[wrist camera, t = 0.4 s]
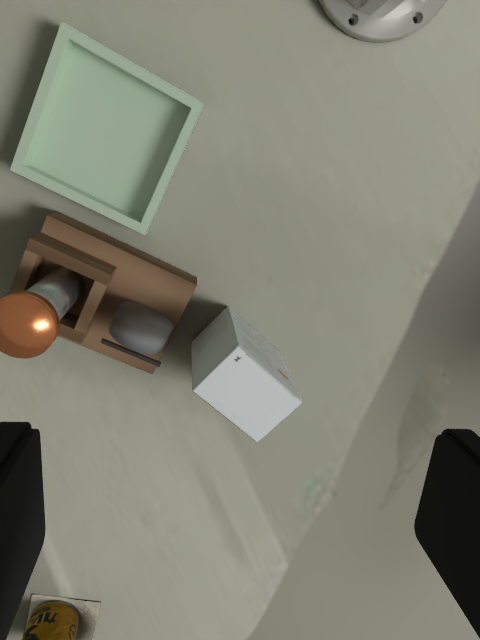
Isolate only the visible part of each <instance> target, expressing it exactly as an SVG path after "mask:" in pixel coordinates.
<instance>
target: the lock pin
mask: <svg viewBox="0 0 480 640" xmlns="http://www.w3.org/2000/svg"><path fill="white" fill-rule="evenodd" d="M84 288H85V283H84V279H83V277H82V276H81V274H79V273H77V272H75V271H73V270H70V269H68V268H66V267H58V268H56V269H54V270H53V271H52V272H50V273H49V274H48V275H46V276H45V277H44V278H42V279H41V280H40V281H38V282H37V283H36V284H35V285H33V286H32V287H31V288H29V289H28V290H27V291H15V292H11V293H8V294H6V295H5V296H3V297H2V298H0V351H1V352H3V353H5V354H7V355H9V356H12V357H16V358H32V357H36V356H38V355H40V354H42V353H43V352H45V351H46V350H47V349H48V348H49V347H50V345H51V344H52V343H53V342H54V340H55V339H56V337H57V335H58V333H59V329H60V320H61V318H62V317H63V316H64V315H65V314H66V313H67V311H68V310H69V309H70V308H71V307H72V306H73V304H74V303H75V302H76V301H77V300H78V299H79V297H80V296H81V295H82V294H83V292H84Z"/></svg>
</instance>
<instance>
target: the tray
mask: <svg viewBox="0 0 480 640" xmlns="http://www.w3.org/2000/svg"><path fill="white" fill-rule="evenodd" d="M204 105H205V104H204V103H203V102H201V101H199V100H197V99H196V98H194V97H192V96H190V95H189V94H187V93H185V92H183V91H182V90H180V89H178V88H177V87H175V86H173V85H171V84H170V83H168V82H166V81H164V80H163V79H161V78H159V77H157V76H156V75H154V74H152V73H150V72H149V71H147V70H145V69H144V68H142V67H140V66H138V65H137V64H135V63H133V62H131V61H130V60H128V59H126V58H124V57H123V56H121V55H119V54H117V53H116V52H114V51H112V50H111V49H109V48H107V47H105V46H104V45H102V44H100V43H98V42H97V41H95V40H93V39H91V38H90V37H88V36H86V35H84V34H83V33H81V32H79V31H77V30H76V29H74V28H72V27H71V26H69V25H67V24H65V23H64V22H62V21H61V24H60V27H59V30H58V33H57V36H56V39H55V41H54V44H53V47H52V50H51V53H50V56H49V59H48V62H47V64H46V67H45V70H44V73H43V76H42V79H41V82H40V85H39V87H38V90H37V93H36V96H35V99H34V102H33V105H32V108H31V110H30V113H29V116H28V119H27V122H26V125H25V128H24V131H23V133H22V136H21V139H20V142H19V145H18V148H17V151H16V154H15V156H14V159H13V162H12V165H11V168H10V170H11V171H13V172H15V173H17V174H19V175H21V176H23V177H25V178H27V179H29V180H32V181H34V182H36V183H38V184H40V185H42V186H44V187H46V188H48V189H50V190H52V191H54V192H56V193H59V194H61V195H63V196H65V197H67V198H69V199H71V200H73V201H75V202H77V203H79V204H81V205H83V206H85V207H88V208H90V209H92V210H94V211H96V212H98V213H100V214H102V215H104V216H106V217H108V218H110V219H112V220H114V221H117V222H119V223H121V224H123V225H125V226H127V227H129V228H131V229H133V230H135V231H137V232H139V233H141V234H143V235H146V234H147V232H148V231H149V229H150V226H151V224H152V222H153V220H154V217H155V215H156V213H157V211H158V209H159V206H160V204H161V202H162V200H163V197H164V195H165V193H166V191H167V189H168V186H169V184H170V182H171V180H172V177H173V175H174V173H175V171H176V169H177V166H178V164H179V162H180V160H181V157H182V155H183V153H184V151H185V149H186V146H187V144H188V142H189V140H190V137H191V135H192V133H193V131H194V129H195V126H196V124H197V122H198V120H199V117H200V115H201V113H202V111H203V108H204Z"/></svg>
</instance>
